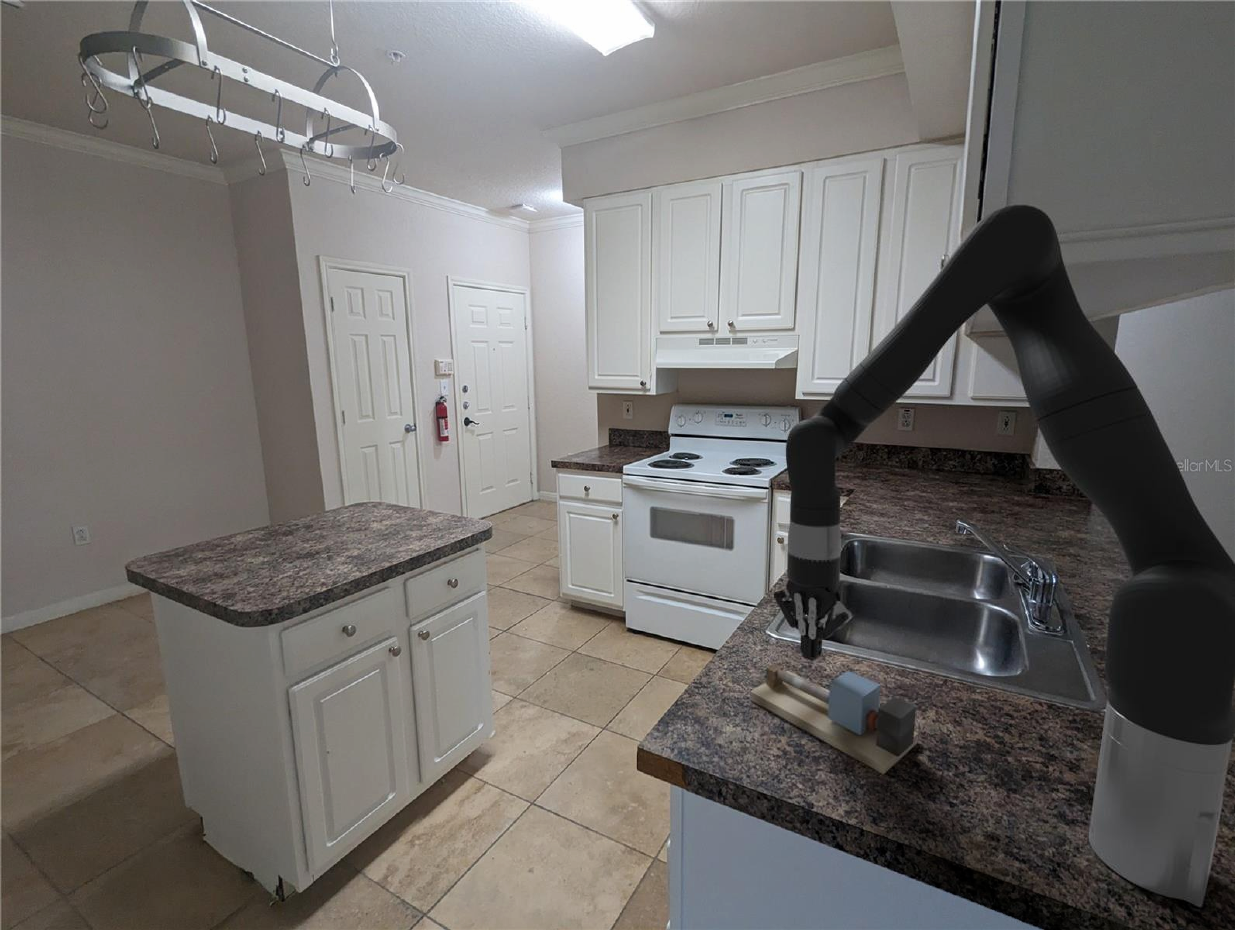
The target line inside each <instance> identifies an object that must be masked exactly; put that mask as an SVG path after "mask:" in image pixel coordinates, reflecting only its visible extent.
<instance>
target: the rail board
mask: <svg viewBox="0 0 1235 930" xmlns="http://www.w3.org/2000/svg"><path fill="white" fill-rule="evenodd" d="M765 672H766V673H765V682H764V683H762V684H761V685H759V686H757V687H756V688H754V689H752V690H750V692H749V693H750V694H749V695H750V697H749V701H752V702H753V703H755V704H757V705H759V706H760V707H762V708H764V709H766V710H768V711H769V712H771V713H773V714H774V715H777V716H779V717H780V718H782V719H784V720H785V721H787V722H789V723H791V724H793V725H795V726H796V727H798V728H800V729H801V730H804V731H805V732H807V733H808V734H810V735H812V736H814V737H816V738H818V739H820V740H822V741H823V742H825V743H827V744H829V745H830V746H832V747H834V748H835V749H838V750H839V751H841V752H842V753H845V754H846V755H848V756H850V757H852V758H854V759H855V760H857V761H859V762H861V763H863V764H864V765H866V766H868V767H870V768H871V769H873V770H875V771H877V772H879V773H880V774H882V775H885V774H886V773H887V772H888V771H889V770H890V769H891V768H892V767H893V766H895V764H897V763H898V762H899V761H900V760H901V759H902V758H903V757H904V756H905V755H907V753H909V751H910V750H912V749H913V748H914V747H915V746H916V745H917V744H918V743H919V734H920V733H919V732H917V731H915V724H916V712H917V706H916V705H914V704H911V703H910V702H907V701H906V700H905V701H904V700H902V699H900V698H897V697H896V696H893V697H892V698H890V699H889V700H888V701H887V702H885V703H884V704H883V705H881V706H879V710H878V712H876V711H872V712H871V713H870V712H869V713H868V714H867V715H866V731H865V732H864V733H863V734H862V735H859V734H857V733H855V732H853V731H851V730H849V729H847V728H845V727H843V726H841V725H840V724H838V723H836V722H834V721H832V720H830V719H828V710H829V689H827V688H825V687H823V686H820V685H818V683H814V682H812V681H811V680H808V679H806V678H803V677H801V676H800V675H798V674H795V673H794V672H791V671H789V670H784V667H783V666H782V665H780V664H778V663H773V664H771V665H769V666H768V667H765Z"/></svg>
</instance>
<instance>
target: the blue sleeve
mask: <svg viewBox="0 0 1235 930" xmlns="http://www.w3.org/2000/svg"><path fill="white" fill-rule="evenodd" d="M828 690H829V710H828V719H830V720H832V721H834V722H836V723H838V724H840V725H841V726H843V727H845V728H847V729H849V730H851V731H853V732H855V733H857V734H859V735H862V734H863V733H864V732H865V731H866V715H867V714H868V713H869V712H870V713H871V712H872V711H876V712H878V710H879V708H880V697H881V684H879V683H877V682H875V681H872V680H871V679H868V678H865V677H863V676H861V675H858V674H857V673H854V672H851V671H849V670H847V671H846V672H843V674H841V675H839V676H837V678H835V679H833V680H831V681H830V682H829V688H828Z"/></svg>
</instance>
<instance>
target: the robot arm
mask: <svg viewBox="0 0 1235 930" xmlns="http://www.w3.org/2000/svg"><path fill="white" fill-rule="evenodd" d="M948 258H949V259H948V260H947V261H946V263H945V264H944V265H943V267H942V268H941V270H940V271H939V272H938V273H937V275H936V276H935V278H933V280H932V281H931V282H930V283H929V285H928V286H927V287H926V289H925V290H924V291H923V293H922V294H921V295H920V296H919V298H918V299H917V300H916V301H915V302H914V304H913V305H912V306H911V307H910V309H909V310H908V311H907V313H905V314H904V316H903V317H902V318H901V319H900V320H899V321H898V323H897V324H896V325H895V326H893V328H892V329H891V330H890V332H888V334H887V335H886V336H885V337H884V338H883V339H882V340H881V341H880V342H879V343H878V344H877V345H876V346H875V347H874V348H873V349H872V351H870V352H869V353H868V354H867V355H866V356H865V357H864V358H863V360H862V361H861V362H859V363H858V365H856V366H855V367H854V369H852V370H851V372H850V373H849V374H848V375H846V377H845V378H843V380H842V381H841V382H840V383H839V384H838V386H836V389H835V390H834V392H833V395H832V397H831V398H830V399H829V400H827V402H826V403H824V405H823V406H822V407H821V408H820V409H819V410H818V411H817V412H815V414H813V416H812V417H810V418H808V419H804V420H801V421H800V422H797V423H796V424H795V425H794V426H793V427H792V428H791V429H790V431H789V433H788V435H787V439H786V443H785V460H786V470H787V475H788V483H789V486H790V501H789V502H790V503H789V504H790V505H789V506H790V507H789V526H788V531H787V561H786V562H787V564H786V576H787V579H788V580H787V582H786V584H785V588H782V589H779V590H776V591H775V592H773V598H774V600H775V602H776V603H777V605H778V608H780V610H781V612H782V614H783V616H784V618H785V620H786V622H787V624H788V625H789V627H790V628H793V629H796V630H798V633H799V634H800V647H799V648H800V653H801V654H802V657H803V658H804V659H806V660H808V661H811V662H813V661H815V660H817V659H818V658H819V657H821V656H822V654H823V640H827V639H828V638H830V637H832V636H833V635H835V634H836V633H837V632H839V631H840V630H841V629H842V628H843V627H844V626H845V625H846V624H848V622H849V621H851V620H852V619H853V618H854V617H855V615H856V613H855V611H854V610H853V609H847V608H846V607H845V605H844V604H843V603H842V602H841V600H842V597H841V593H840V591H839V584H840V581H841V580H840V577H841V551H842V550H841V547H842V535H841V525H840V524H841V523H840V522H841V493H840V488H839V487H838V486H837V485H836V463H837V462H836V461H837V458H839V457H840V456H841V455H842V454H843V453H844V452H845V451H846V450H847V449H848V448H849V447H850V446H852V445H853V443H855V441H856V440H857V439H858V438H859V436H861V434H862V433H864V431H865V430H866V429H867V428H868V426H869V425H870V424H872V423H874V421H876V420H877V419H878V418H880V417H881V416H882V415H883V414H884V413H885V412H886V411H888V409H890V408H892V406H893V405H894V404H895V403H896V402H897V401H899V400H900V399H901V398H902V397H903V396H904V395H905V394H906V393H907V392H908V391H909V390H910V389H911V388H912V387H913V386H914V385H915V383H917V381H918V380H919V379H920V378H921V377H922V375H923V374H924V373H925V371H927V369H928V368H929V367H930V365H932V363H933V361H934V359H936V358H937V356H938V354H939V353H940V352H941V350H942V348H943V347H944V346H945V345H946V343H947V342H948V341H949V340H950V339H951V337H952V336H953V335H955V334H956V332H957V331H958V330H959V329H960V328H961V327H962V325H964V324H965V323H966V322H967V321H968V320H969V319H970V318H971V317H973V315H975V313H977V312H978V311H979V310H980V309H982V308H983V307H984V306H985V305H987V306H988V307H989V309H990V310H991V312H992V313H993V315H994V316H995V317H996V319H997V321H998V323H999V325H1000V327H1001V328H1002V329H1003V331H1004V333H1005V334H1006V336H1007V338H1008V340H1009V342H1010V344H1011V347H1012V349H1013V352H1014V355H1015V360H1016V361H1017V362H1016V363H1017V366H1018V371H1019V375H1020V379H1021V382H1022V383H1021V384H1022V388H1023V390H1024V394H1025V397H1026V400H1027V402H1028V406H1029V408H1030V412H1031V413H1032V416H1033V419H1034V421H1035V422H1036V425H1037V427H1038V429H1039V431H1040V433H1041V436H1042V438H1043V439H1044V441H1045V444H1046V446H1047V448H1048V450H1049V452H1050V454H1051V455H1052V457H1053V460H1055V462H1056V463H1057V465H1058V467H1060V469H1061V470H1062V472H1064V474H1065V475H1066V476H1067V477H1068V478H1069V480H1070V481H1071V482H1072V483H1074V484H1075V486H1076V487H1077V488H1078V489H1079V490H1080V492H1082V493H1083V495H1084V496H1086V498H1087V499H1088V500H1089V501H1091V503H1092V504H1093V505H1095V507H1096V508H1097V509H1098V510H1099V512H1101V514H1102V515H1103V516H1104V517H1105V519H1106V520H1107V522H1108V523H1109V525H1110V527H1111V528H1112V529H1113V531H1114V533H1115V535H1116V538H1117V539H1118V541H1119V543H1120V546H1121V549H1122V551H1123V552H1124V553H1123V554H1124V555H1125V559H1127V562H1128V565H1129V567H1130V570H1131V574H1132V577H1131V578H1129V579H1128V580H1126V581H1125V582H1123V584H1121V585H1120V586H1119V587H1118V589H1117V590H1116V592H1115V594H1114V596H1113V599H1112V601H1111V605H1110V610H1109V616H1108V624H1107V633H1106V643H1105V645H1106V646H1105V655H1104V656H1105V657H1104V676H1105V677H1104V678H1105V680H1106V683H1107V685H1108V690H1107V699H1106V706H1105V707H1106V708H1105V714H1104V721H1103V729H1102V736H1101V737H1102V738H1101V743H1100V751H1099V757H1098V758H1099V759H1098V765H1097V772H1096V779H1095V785H1094V786H1095V787H1094V793H1093V800H1092V809H1091V816H1090V819H1089V830H1088V831H1089V833H1088V840H1089V844H1090V847H1091V848H1092V850H1093V851H1094V853H1095V854H1096V856H1098V858H1099V859H1100V860H1101V861H1102V862H1103V863H1104V864H1105V865H1106V866H1107V867H1109V868H1110V869H1111V870H1112V871H1114V872H1115V873H1117V874H1118V875H1119V876H1121V877H1122V878H1124V879H1126V880H1127V881H1128V882H1131V883H1133V884H1135V885H1136V886H1139V887H1141V888H1142V889H1145V890H1148V891H1150V892H1152V893H1155V894H1157V895H1161V896H1164V897H1167V898H1173V899H1178V900H1184V901H1186V902H1188V903H1190V904H1192V905H1194V906H1195V907H1198V908H1202V907H1203V905H1204V899H1205V895H1206V891H1207V887H1208V882H1209V878H1210V874H1211V868H1212V863H1213V858H1214V852H1215V847H1216V841H1217V840H1216V839H1217V836H1218V829H1219V825H1220V818H1221V811H1222V806H1223V801H1224V795H1223V794H1224V789H1225V783H1226V778H1227V772H1228V768H1229V761H1230V755H1231V751H1232V750H1231V749H1232V744H1233V739H1234V734H1235V707H1234V706H1233V704H1232V701H1233V693H1234V686H1235V561H1234V560H1233V559H1232V557H1231V556H1230V555H1229V554H1228V552H1227V551H1226V549H1225V547H1224V546H1223V545H1222V543H1221V542H1220V541H1219V539H1218V538H1217V536H1216V535H1215V533H1214V532H1213V530H1212V529H1211V527H1210V526H1209V525H1208V523H1207V522H1206V520H1205V519H1204V517H1203V515H1202V513H1200V512H1201V511H1200V510H1199V508H1198V507H1197V505H1196V503H1195V502H1194V499H1193V497H1192V495H1191V493H1190V491H1189V489H1188V486H1187V484H1186V481H1185V479H1184V477H1183V475H1182V472H1181V470H1180V467H1179V466H1178V464H1177V462H1176V460H1175V458H1174V456H1173V454H1172V452H1171V449H1170V448H1169V446H1168V444H1167V441H1166V440H1165V438H1164V436H1163V434H1162V432H1161V430H1160V427H1159V425H1158V423H1157V421H1156V419H1155V417H1154V415H1153V413H1152V411H1151V409H1150V407H1149V406H1148V404H1147V402H1146V399H1145V397H1144V395H1143V393H1142V392H1141V390H1140V389H1139V388H1138V385H1137V383H1136V382H1135V380H1134V378H1133V377H1132V375H1131V373H1130V372H1129V371H1128V369H1127V367H1126V366H1125V364H1124V363H1123V361H1121V359H1120V358H1119V357H1118V354H1116V352H1115V351H1114V350H1113V349H1112V348H1111V346H1110V345H1109V344H1108V343H1107V341H1106V340H1105V339H1104V338H1103V337H1102V335H1101V334H1100V333H1099V332H1098V330H1096V329H1095V328H1094V326H1093V325H1092V324H1091V322H1090V321H1089V319H1088V318H1087V316H1086V315H1085V313H1084V311H1083V309H1082V307H1081V305H1080V303H1079V301H1078V298H1077V296H1076V294H1075V291H1074V289H1073V286H1072V283H1071V281H1070V277H1069V276H1068V272H1067V269H1066V266H1065V263H1064V259H1063V255H1062V250H1061V245H1060V240H1059V237H1058V235H1057V230H1056V228H1055V226H1054V223H1053V221H1052V220H1051V218H1050V217H1049V215H1048V214H1047V213H1046V212H1044V210H1042V209H1040V208H1038V207H1035V206H1033V205H1027V204H1014V205H1008V206H1004V207H1002V208H998V209H996V210H994V211H993V212H991V213H989V214H987V215H986V216H984V217H983V218H982V219H981V220H979V221H978V222H977V223H976V224H975V225H974V226H973V227H972V228H971V229H970V230H969V232H968V233H967V235H966V236H965V237H964V238H963V239H962V241H961V242H960V243H959V244H958V246H957V247H956V248H955V249H954V251H953V252H952V254H951V255H950V257H948ZM833 610H834V611H833ZM832 611H833V613H832V620H831V621H830V622H829V623H828V624H827V625H826V622H827V620H828V618H829V617H828V616H829V614H830V613H831V612H832Z"/></svg>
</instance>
